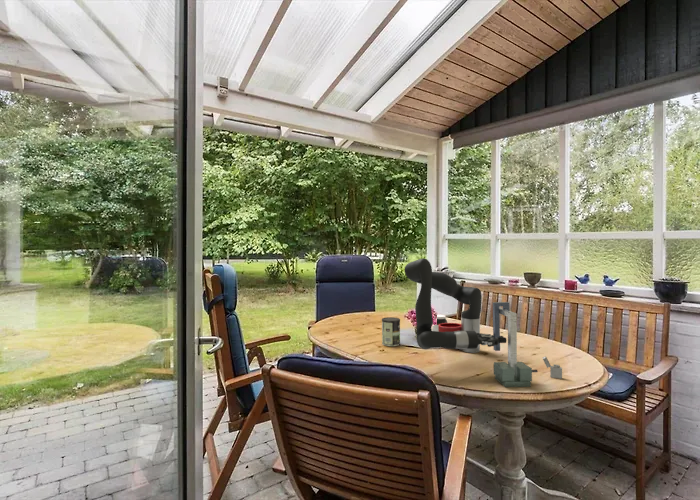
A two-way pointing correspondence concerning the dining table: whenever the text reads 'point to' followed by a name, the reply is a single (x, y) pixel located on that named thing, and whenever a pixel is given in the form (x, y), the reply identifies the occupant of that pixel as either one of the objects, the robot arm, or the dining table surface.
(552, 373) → the lighter
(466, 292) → the robot arm
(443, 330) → the plant pot
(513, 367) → the grey tall bent post
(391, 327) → the coffee can
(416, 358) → the dining table surface
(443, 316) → the spread jar
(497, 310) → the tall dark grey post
